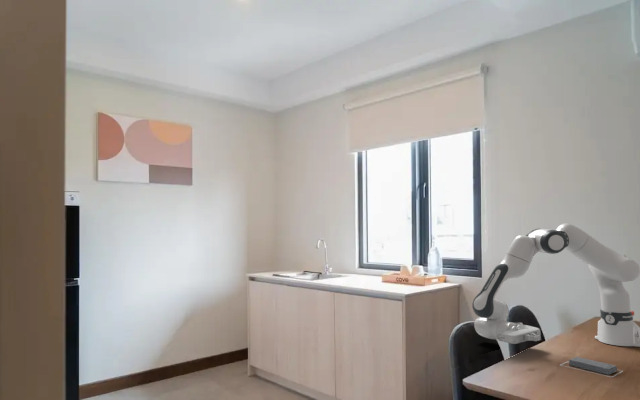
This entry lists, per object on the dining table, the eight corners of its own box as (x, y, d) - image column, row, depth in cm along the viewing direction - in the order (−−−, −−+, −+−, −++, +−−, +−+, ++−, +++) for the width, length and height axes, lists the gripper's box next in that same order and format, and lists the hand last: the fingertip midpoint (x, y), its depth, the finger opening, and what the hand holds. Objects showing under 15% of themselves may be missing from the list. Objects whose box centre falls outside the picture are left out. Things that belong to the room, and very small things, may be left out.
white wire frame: (571, 359, 175) (623, 370, 161) (571, 361, 175) (623, 372, 161) (559, 365, 169) (612, 377, 155) (559, 366, 169) (612, 378, 155)
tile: (576, 356, 172) (616, 365, 160) (577, 363, 172) (617, 372, 160) (568, 359, 169) (608, 369, 157) (569, 366, 169) (609, 376, 157)
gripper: (493, 328, 188) (524, 334, 176) (521, 321, 199) (551, 327, 188) (494, 343, 188) (524, 350, 176) (522, 336, 199) (552, 342, 187)
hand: (538, 338), depth 182 cm, fingers closed
